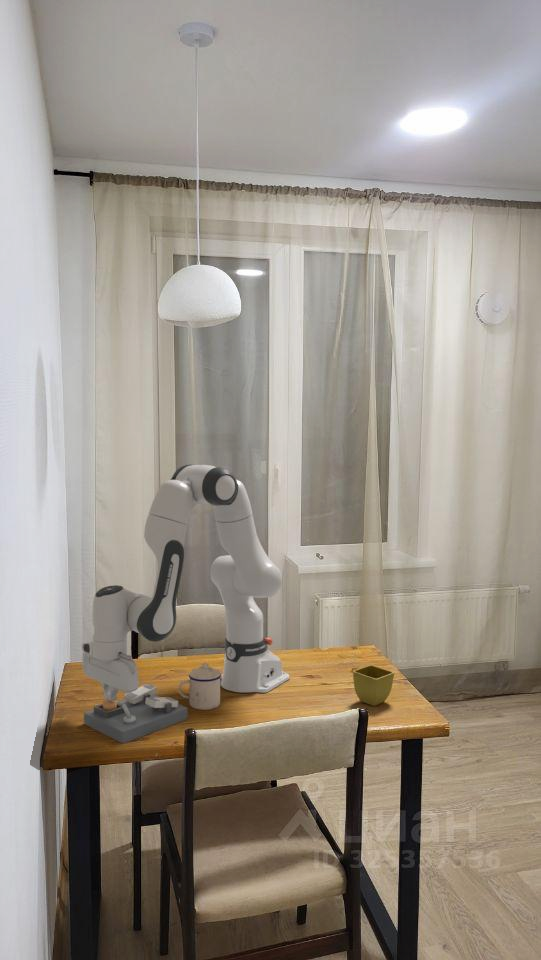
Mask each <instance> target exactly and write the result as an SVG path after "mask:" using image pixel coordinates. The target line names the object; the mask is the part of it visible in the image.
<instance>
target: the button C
mask: <svg viewBox="0 0 541 960" xmlns="http://www.w3.org/2000/svg"><path fill="white" fill-rule="evenodd" d="M117 702H118V700H117V699H116V701H113V702H111V701H109V700H106V699H104V700H103V701H102V704H103V709H104V710H106V711H110V710H113V709H116V708H117Z"/></svg>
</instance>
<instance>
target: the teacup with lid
mask: <svg viewBox="0 0 541 960" xmlns="http://www.w3.org/2000/svg"><path fill="white" fill-rule="evenodd" d="M221 675H222V672H221V671H220V670H219V669H216V668H214V667H212V666H210V665H209V663H206V662H203V663H202V664H201V666H199V667H197V668H195V669H191V670H190V672H189V674H188V677H189V679H185V680H183V681H180V683H179V685H178V693H179V694H180V696H181V697H182V698H185V699H189V706H190V707H191V708H193V709H195V710H202V711H204V710H206V711H207V710H212V709H216V708H218V707H219V706H220V704H221ZM185 684H189V694H184V692H183V691H182V686H184V685H185Z"/></svg>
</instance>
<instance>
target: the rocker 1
mask: <svg viewBox="0 0 541 960" xmlns="http://www.w3.org/2000/svg"><path fill="white" fill-rule="evenodd" d="M157 693H158V689H157V686H155V685H152V684H150V683H146V684H144V685H141V686H139V687H138V689H137V690H136V691H133V692H130V693H125V694H124V695H123V696H124V699H125V701H127V702H130V703H132V704H136V703H138V702H140V701H142V700H143V699H144V695H146V694H150V696H151V695H153V694H154V695H156V694H157Z"/></svg>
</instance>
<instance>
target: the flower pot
mask: <svg viewBox="0 0 541 960" xmlns="http://www.w3.org/2000/svg"><path fill="white" fill-rule="evenodd" d="M352 678H353V679H352V680H353V686H354V688H353V689H354V691H355V694H356V696H357V698H358V699H359V701H360V702H362V703H365V704H368V705H370V706H372V707H375V706H377V705H380V704H382V703H384V702H385V701H387V699H388V697H389V696H390V694H391V691H392V687H393V684H394V683H393V682H394V678H395V672H394V671H391V670H388V669H385V668H382V667H379V666H376V665H373V664H369V665H366V666H363V667H361V668H358V669H355V670H353V671H352Z"/></svg>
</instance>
